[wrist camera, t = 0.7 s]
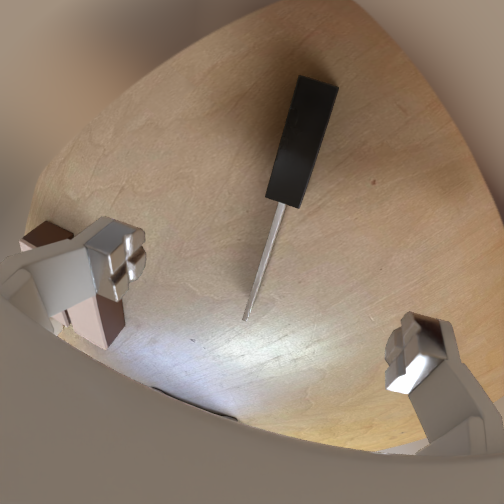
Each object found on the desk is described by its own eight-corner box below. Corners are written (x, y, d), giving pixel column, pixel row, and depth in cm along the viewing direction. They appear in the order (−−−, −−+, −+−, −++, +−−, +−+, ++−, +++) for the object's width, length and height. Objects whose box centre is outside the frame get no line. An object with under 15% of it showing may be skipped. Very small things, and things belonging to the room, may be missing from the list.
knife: (303, 75, 18) (298, 74, 16) (338, 86, 18) (339, 87, 15) (240, 296, 31) (231, 316, 29) (264, 305, 31) (256, 325, 28)
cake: (45, 220, 34) (18, 240, 30) (117, 253, 33) (89, 281, 29) (61, 289, 43) (41, 310, 38) (125, 325, 41) (106, 351, 37)
